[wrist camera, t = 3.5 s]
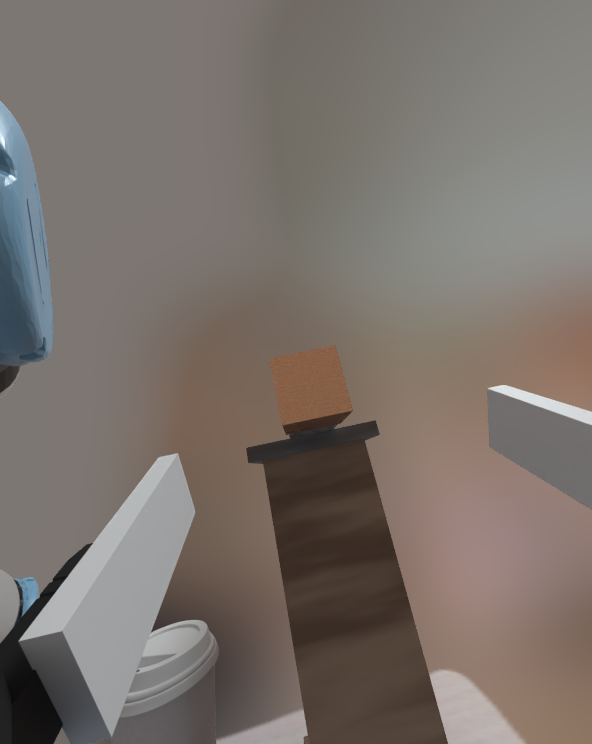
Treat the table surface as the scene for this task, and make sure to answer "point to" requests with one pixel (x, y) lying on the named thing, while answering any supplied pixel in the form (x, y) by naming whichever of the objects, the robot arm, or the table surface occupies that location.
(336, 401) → the wood grain block
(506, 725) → the table surface
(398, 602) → the post
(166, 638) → the coffee cup
